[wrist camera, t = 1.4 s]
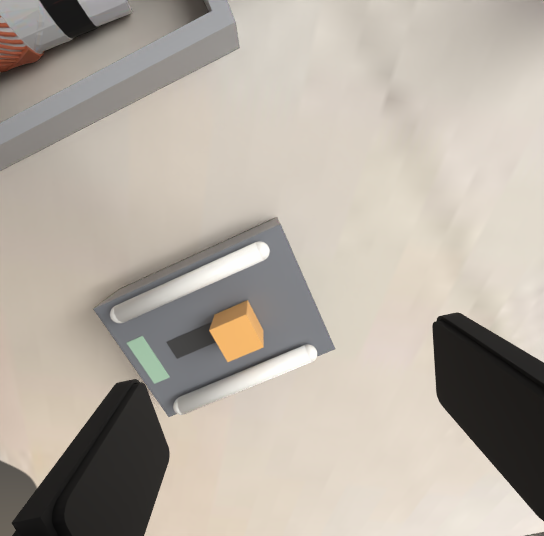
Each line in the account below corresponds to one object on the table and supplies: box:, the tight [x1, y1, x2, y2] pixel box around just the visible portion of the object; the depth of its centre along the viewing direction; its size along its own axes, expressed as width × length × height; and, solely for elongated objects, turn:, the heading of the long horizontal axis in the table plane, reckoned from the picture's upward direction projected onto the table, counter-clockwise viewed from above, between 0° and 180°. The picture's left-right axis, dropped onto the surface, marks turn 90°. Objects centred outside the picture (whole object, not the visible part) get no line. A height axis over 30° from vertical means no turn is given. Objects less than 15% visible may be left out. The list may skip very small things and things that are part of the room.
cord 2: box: [173, 344, 317, 415], centre depth 33 cm, size 18×2×2 cm, turn 114°
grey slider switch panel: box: [94, 217, 335, 417], centre depth 35 cm, size 22×16×6 cm
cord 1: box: [110, 241, 270, 323], centre depth 29 cm, size 18×2×2 cm, turn 114°
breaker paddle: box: [209, 300, 264, 362], centre depth 30 cm, size 4×4×4 cm
